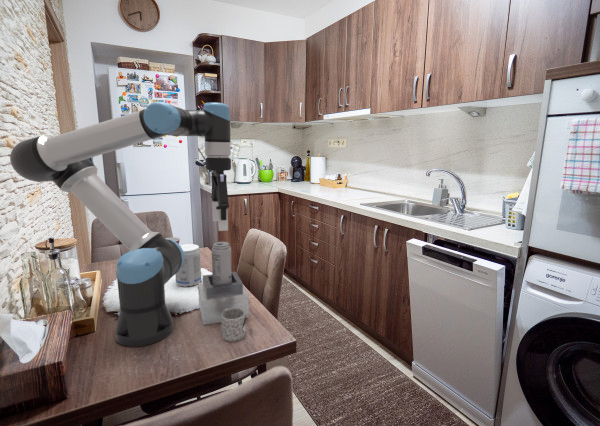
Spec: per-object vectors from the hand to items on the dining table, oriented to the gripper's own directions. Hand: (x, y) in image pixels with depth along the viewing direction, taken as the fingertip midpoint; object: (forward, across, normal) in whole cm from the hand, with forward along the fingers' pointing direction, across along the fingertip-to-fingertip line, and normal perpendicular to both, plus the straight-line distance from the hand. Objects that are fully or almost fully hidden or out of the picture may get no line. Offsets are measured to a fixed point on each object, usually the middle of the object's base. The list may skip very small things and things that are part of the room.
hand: (220, 225), depth 103 cm
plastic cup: (+29, +52, +16) cm, 62 cm away
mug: (+29, -14, -1) cm, 32 cm away
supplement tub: (+29, +28, +9) cm, 41 cm away
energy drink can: (+21, 0, 0) cm, 21 cm away
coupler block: (+29, 0, 0) cm, 29 cm away
